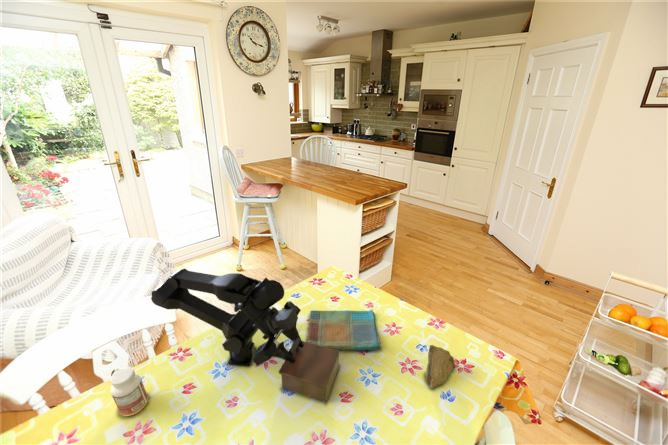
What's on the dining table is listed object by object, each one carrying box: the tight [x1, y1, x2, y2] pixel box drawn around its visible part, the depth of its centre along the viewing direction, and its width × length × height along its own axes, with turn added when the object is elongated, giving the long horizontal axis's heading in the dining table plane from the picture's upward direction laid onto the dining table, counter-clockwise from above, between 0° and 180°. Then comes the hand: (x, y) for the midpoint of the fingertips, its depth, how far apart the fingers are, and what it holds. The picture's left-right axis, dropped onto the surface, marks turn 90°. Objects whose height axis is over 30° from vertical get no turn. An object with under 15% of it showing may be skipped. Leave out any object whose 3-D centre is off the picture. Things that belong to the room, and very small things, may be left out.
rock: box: [425, 344, 456, 390], centre depth 82 cm, size 11×9×10 cm
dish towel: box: [306, 309, 382, 351], centre depth 97 cm, size 17×23×2 cm
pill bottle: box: [109, 366, 149, 417], centre depth 72 cm, size 6×6×11 cm
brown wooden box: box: [280, 354, 340, 403], centre depth 81 cm, size 13×12×5 cm
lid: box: [278, 337, 340, 388], centre depth 79 cm, size 13×12×5 cm
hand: (298, 354), depth 80 cm, fingers closed on lid, 5 cm apart
